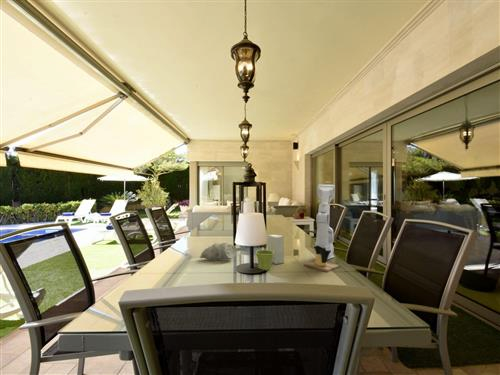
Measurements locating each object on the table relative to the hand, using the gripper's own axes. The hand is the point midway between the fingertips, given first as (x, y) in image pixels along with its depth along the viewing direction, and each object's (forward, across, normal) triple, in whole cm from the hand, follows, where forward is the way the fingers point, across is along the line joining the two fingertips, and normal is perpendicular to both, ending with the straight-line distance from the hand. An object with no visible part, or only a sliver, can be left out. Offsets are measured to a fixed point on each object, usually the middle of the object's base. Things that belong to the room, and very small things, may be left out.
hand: (321, 261), depth 151 cm
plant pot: (+3, +2, -32) cm, 32 cm away
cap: (+2, 0, 0) cm, 2 cm away
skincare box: (+3, -10, -23) cm, 25 cm away
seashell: (+3, -16, -54) cm, 56 cm away
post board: (+3, 0, 0) cm, 3 cm away
